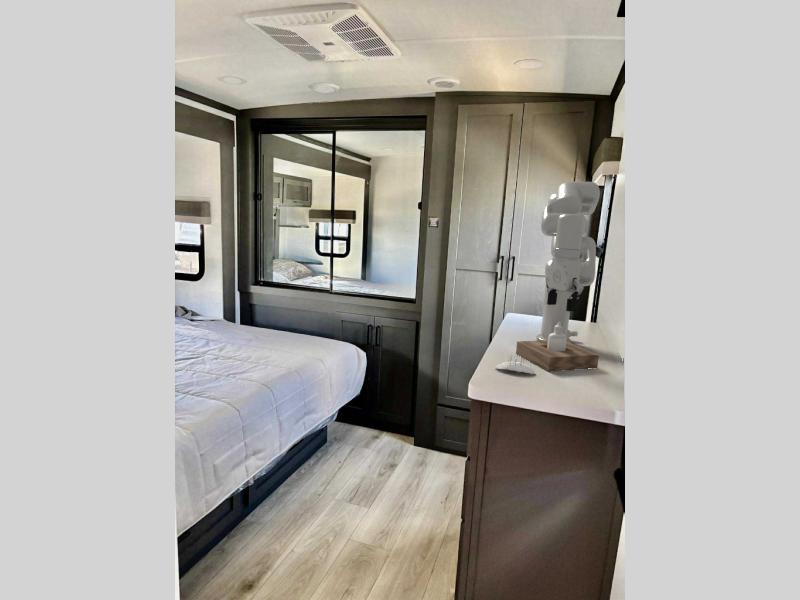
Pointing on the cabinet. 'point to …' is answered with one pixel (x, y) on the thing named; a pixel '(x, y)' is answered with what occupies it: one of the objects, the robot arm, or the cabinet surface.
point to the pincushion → (515, 367)
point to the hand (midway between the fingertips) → (560, 307)
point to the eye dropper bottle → (557, 339)
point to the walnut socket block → (556, 356)
